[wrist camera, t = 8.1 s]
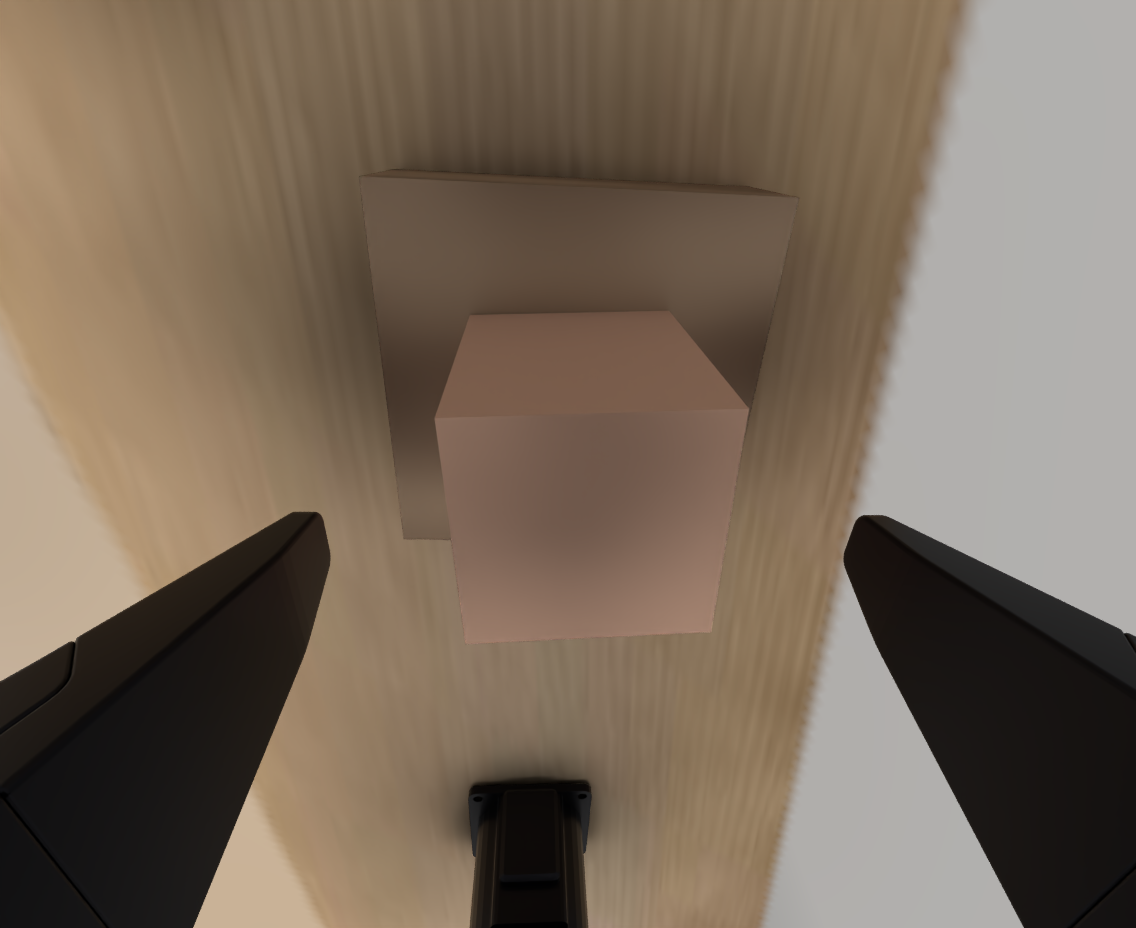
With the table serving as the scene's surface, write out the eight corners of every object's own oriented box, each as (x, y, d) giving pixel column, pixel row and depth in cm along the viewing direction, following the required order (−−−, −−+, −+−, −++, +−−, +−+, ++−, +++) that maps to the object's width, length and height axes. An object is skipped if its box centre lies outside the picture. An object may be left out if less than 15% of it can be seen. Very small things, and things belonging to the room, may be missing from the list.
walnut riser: (691, 476, 21) (720, 541, 18) (425, 472, 21) (403, 539, 17) (744, 185, 16) (799, 197, 13) (397, 168, 16) (358, 176, 12)
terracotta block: (655, 479, 17) (710, 631, 12) (485, 485, 16) (465, 644, 11) (669, 310, 14) (748, 408, 9) (469, 314, 14) (434, 417, 9)
